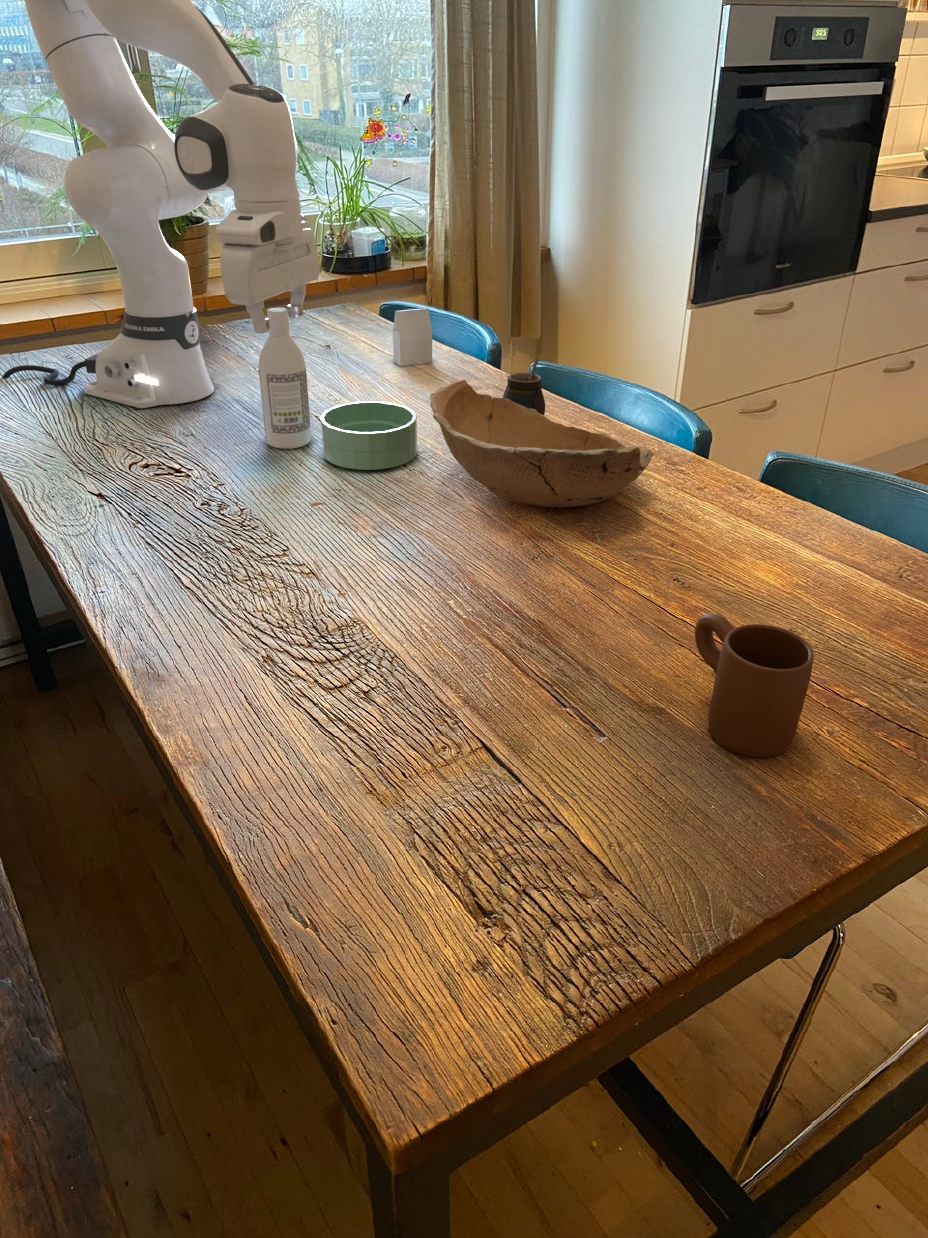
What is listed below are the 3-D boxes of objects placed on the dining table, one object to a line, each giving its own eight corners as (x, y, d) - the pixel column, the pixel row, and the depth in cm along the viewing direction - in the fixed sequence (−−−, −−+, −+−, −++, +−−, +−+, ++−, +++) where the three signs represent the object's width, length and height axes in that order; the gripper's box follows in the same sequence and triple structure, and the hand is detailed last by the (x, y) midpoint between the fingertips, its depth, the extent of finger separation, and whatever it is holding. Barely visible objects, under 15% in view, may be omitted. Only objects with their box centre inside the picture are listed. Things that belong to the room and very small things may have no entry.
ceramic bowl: (671, 461, 133) (678, 364, 123) (614, 569, 114) (617, 465, 105) (483, 433, 144) (475, 342, 134) (403, 527, 125) (388, 430, 116)
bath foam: (320, 443, 142) (310, 310, 131) (280, 453, 138) (267, 317, 127) (297, 430, 146) (286, 301, 136) (258, 440, 142) (244, 308, 132)
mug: (656, 698, 86) (670, 612, 81) (716, 675, 90) (733, 592, 85) (748, 772, 78) (769, 681, 73) (811, 744, 81) (836, 656, 76)
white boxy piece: (432, 362, 180) (432, 310, 175) (400, 366, 178) (399, 313, 172) (424, 357, 183) (424, 306, 178) (393, 361, 180) (392, 308, 175)
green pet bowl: (306, 464, 134) (303, 425, 131) (349, 433, 145) (348, 396, 142) (393, 478, 130) (392, 438, 127) (430, 446, 141) (430, 408, 138)
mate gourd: (493, 428, 148) (495, 367, 143) (509, 414, 154) (511, 355, 149) (535, 435, 146) (539, 373, 141) (549, 420, 152) (553, 360, 147)
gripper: (288, 210, 135) (296, 307, 142) (207, 230, 118) (221, 338, 125) (326, 212, 133) (333, 310, 140) (249, 233, 116) (261, 343, 123)
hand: (279, 324), depth 132 cm, fingers open, 8 cm apart
